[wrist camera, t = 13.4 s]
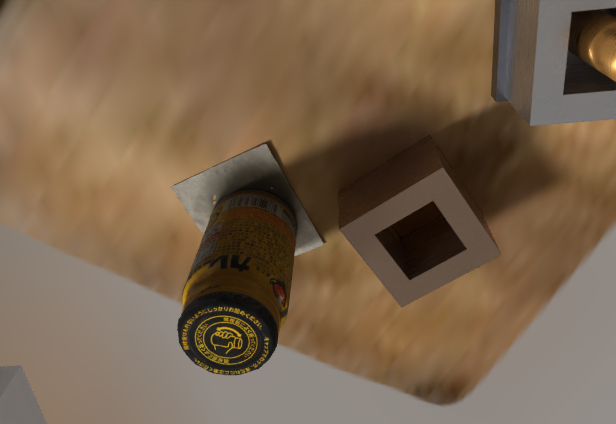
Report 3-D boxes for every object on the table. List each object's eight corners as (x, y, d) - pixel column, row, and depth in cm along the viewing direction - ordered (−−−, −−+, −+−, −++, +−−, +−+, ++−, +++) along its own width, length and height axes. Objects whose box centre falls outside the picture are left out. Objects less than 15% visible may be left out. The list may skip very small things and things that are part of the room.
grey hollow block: (511, -31, 31) (541, -19, 27) (648, -46, 31) (701, -36, 26) (504, 96, 34) (529, 126, 30) (628, 85, 34) (672, 114, 30)
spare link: (338, 191, 39) (339, 229, 35) (429, 135, 37) (443, 167, 33) (394, 264, 42) (401, 307, 37) (482, 214, 40) (501, 254, 35)
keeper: (497, -47, 32) (562, -25, 23) (650, -64, 31) (778, -47, 22) (491, 95, 36) (545, 162, 27) (627, 83, 35) (729, 147, 26)
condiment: (234, 279, 43) (203, 404, 32) (171, 185, 39) (113, 291, 29) (324, 242, 41) (321, 362, 31) (266, 141, 38) (241, 236, 27)
